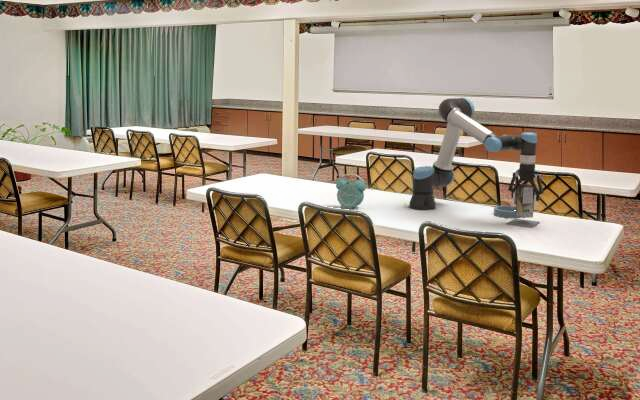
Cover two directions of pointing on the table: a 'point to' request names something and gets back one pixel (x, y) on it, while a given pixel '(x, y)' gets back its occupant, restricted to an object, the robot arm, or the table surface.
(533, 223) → the mat
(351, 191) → the alarm clock
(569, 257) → the table surface
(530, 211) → the coffee box
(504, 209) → the bowl
